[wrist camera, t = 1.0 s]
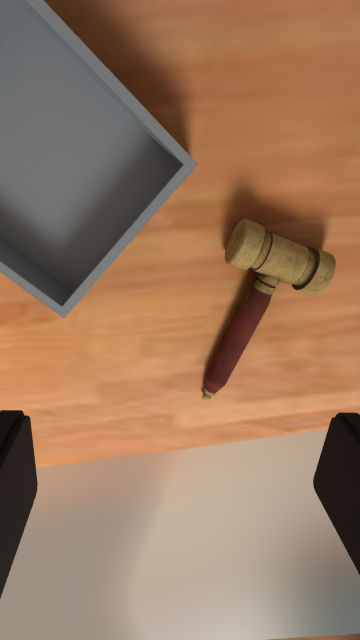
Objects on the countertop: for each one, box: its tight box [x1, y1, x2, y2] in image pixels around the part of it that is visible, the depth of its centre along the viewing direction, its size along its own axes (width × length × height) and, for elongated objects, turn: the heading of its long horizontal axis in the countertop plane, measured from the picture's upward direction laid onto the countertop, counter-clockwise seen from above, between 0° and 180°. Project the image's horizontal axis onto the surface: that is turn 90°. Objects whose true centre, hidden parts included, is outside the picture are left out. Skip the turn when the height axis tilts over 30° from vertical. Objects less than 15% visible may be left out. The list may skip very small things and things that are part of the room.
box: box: [0, 0, 198, 318], centre depth 29 cm, size 18×18×5 cm
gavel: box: [202, 218, 336, 401], centre depth 38 cm, size 21×5×10 cm
